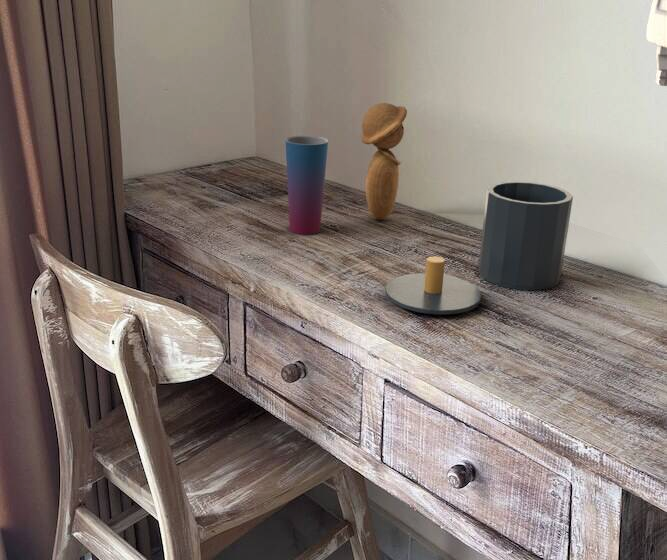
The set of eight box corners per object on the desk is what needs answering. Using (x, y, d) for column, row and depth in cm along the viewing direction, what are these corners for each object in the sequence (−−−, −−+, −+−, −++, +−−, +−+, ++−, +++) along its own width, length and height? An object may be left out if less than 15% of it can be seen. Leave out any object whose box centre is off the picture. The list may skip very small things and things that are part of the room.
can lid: (485, 321, 103) (489, 280, 101) (384, 315, 104) (386, 274, 102) (475, 283, 115) (480, 245, 113) (385, 278, 116) (387, 240, 113)
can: (566, 292, 113) (580, 206, 108) (482, 287, 114) (492, 201, 109) (551, 263, 124) (563, 183, 119) (475, 258, 124) (483, 179, 120)
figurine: (406, 226, 138) (414, 108, 130) (365, 228, 136) (371, 108, 129) (390, 210, 146) (397, 98, 139) (351, 212, 144) (357, 98, 137)
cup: (321, 223, 138) (324, 135, 132) (328, 236, 132) (331, 144, 126) (281, 223, 137) (283, 135, 131) (286, 236, 131) (288, 144, 125)
